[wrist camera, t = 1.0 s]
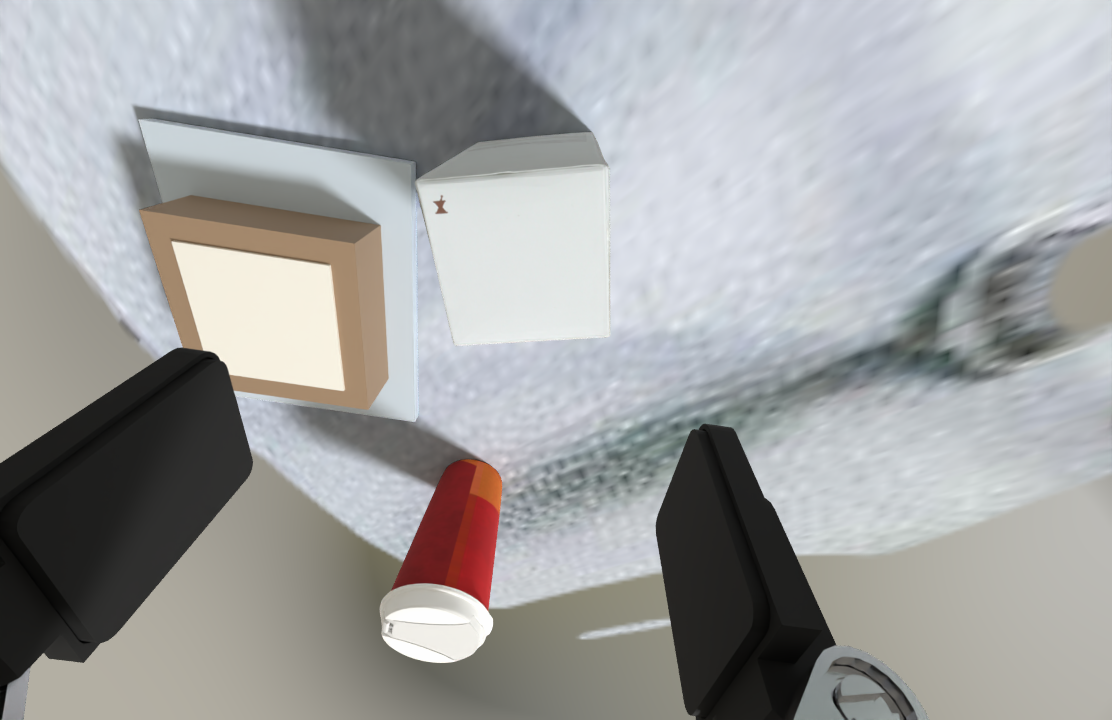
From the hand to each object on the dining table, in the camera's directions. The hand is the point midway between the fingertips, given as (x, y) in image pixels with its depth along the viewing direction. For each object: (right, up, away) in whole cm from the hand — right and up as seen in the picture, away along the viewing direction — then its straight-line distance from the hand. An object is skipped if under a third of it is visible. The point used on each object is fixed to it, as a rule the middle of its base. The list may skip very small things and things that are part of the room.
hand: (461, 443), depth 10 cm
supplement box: (+1, +12, +20) cm, 23 cm away
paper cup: (-6, -9, +33) cm, 35 cm away
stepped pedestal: (-16, +7, +24) cm, 29 cm away
